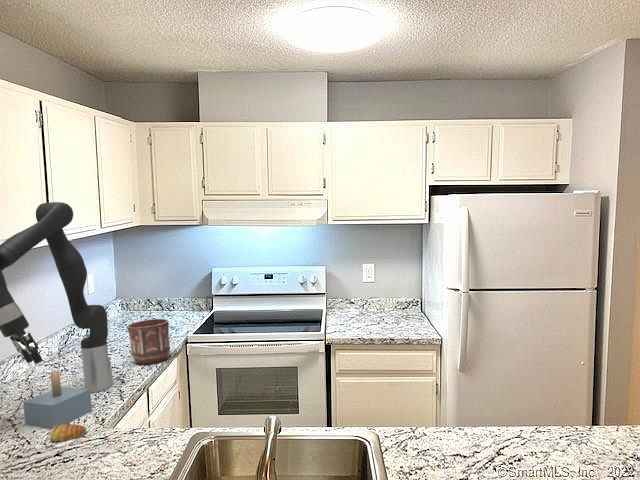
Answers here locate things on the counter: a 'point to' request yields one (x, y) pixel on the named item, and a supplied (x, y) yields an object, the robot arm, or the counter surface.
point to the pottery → (149, 340)
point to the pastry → (67, 432)
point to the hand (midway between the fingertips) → (35, 361)
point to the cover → (57, 405)
